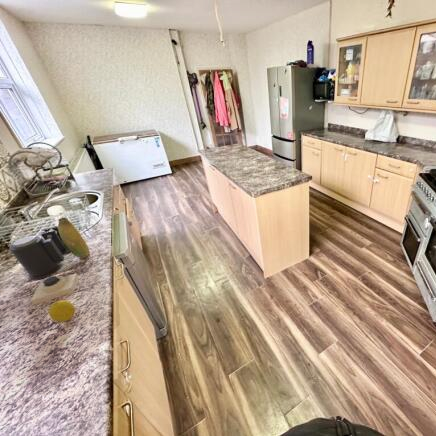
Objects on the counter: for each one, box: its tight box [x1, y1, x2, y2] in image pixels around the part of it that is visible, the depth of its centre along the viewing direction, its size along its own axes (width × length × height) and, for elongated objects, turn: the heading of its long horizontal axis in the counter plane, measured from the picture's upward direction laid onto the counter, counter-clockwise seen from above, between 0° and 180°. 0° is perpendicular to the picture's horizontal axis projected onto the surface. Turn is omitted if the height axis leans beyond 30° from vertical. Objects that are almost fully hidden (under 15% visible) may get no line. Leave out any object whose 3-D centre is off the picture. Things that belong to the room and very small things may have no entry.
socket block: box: [30, 272, 80, 306], centre depth 85 cm, size 11×9×4 cm
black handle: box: [40, 225, 72, 256], centre depth 105 cm, size 12×9×12 cm
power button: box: [42, 275, 59, 287], centre depth 84 cm, size 4×4×2 cm
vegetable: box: [57, 216, 90, 259], centre depth 98 cm, size 6×6×20 cm
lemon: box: [48, 299, 76, 323], centre depth 72 cm, size 6×6×8 cm
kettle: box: [8, 235, 65, 282], centre depth 92 cm, size 12×10×16 cm
